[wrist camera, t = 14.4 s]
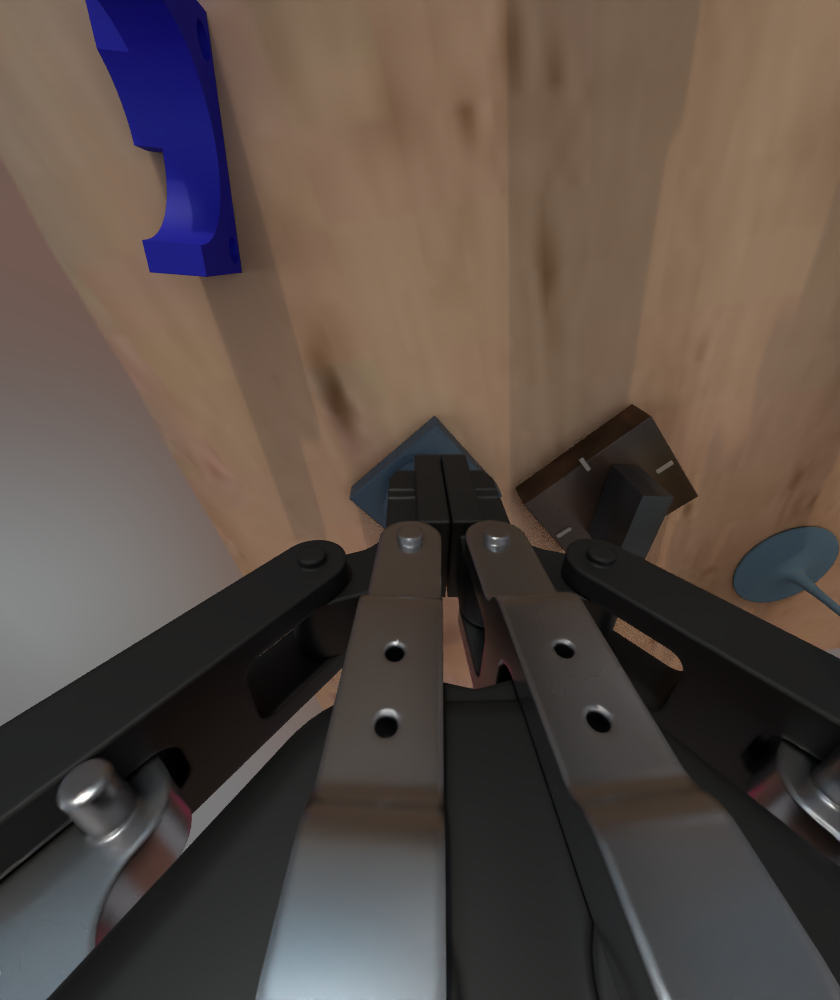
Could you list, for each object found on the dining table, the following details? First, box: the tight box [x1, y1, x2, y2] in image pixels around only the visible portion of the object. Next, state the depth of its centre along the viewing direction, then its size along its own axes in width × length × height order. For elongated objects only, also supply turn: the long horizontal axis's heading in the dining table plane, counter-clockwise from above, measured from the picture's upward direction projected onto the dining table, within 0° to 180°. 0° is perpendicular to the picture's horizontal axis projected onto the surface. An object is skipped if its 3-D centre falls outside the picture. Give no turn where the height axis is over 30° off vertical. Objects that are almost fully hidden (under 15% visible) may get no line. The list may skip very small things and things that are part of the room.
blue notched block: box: [85, 0, 242, 277], centre depth 22 cm, size 12×4×6 cm, turn 176°
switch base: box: [516, 405, 698, 552], centre depth 36 cm, size 12×11×3 cm
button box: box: [350, 416, 502, 529], centre depth 35 cm, size 10×9×4 cm
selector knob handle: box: [588, 465, 674, 560], centre depth 33 cm, size 7×2×5 cm, turn 176°
